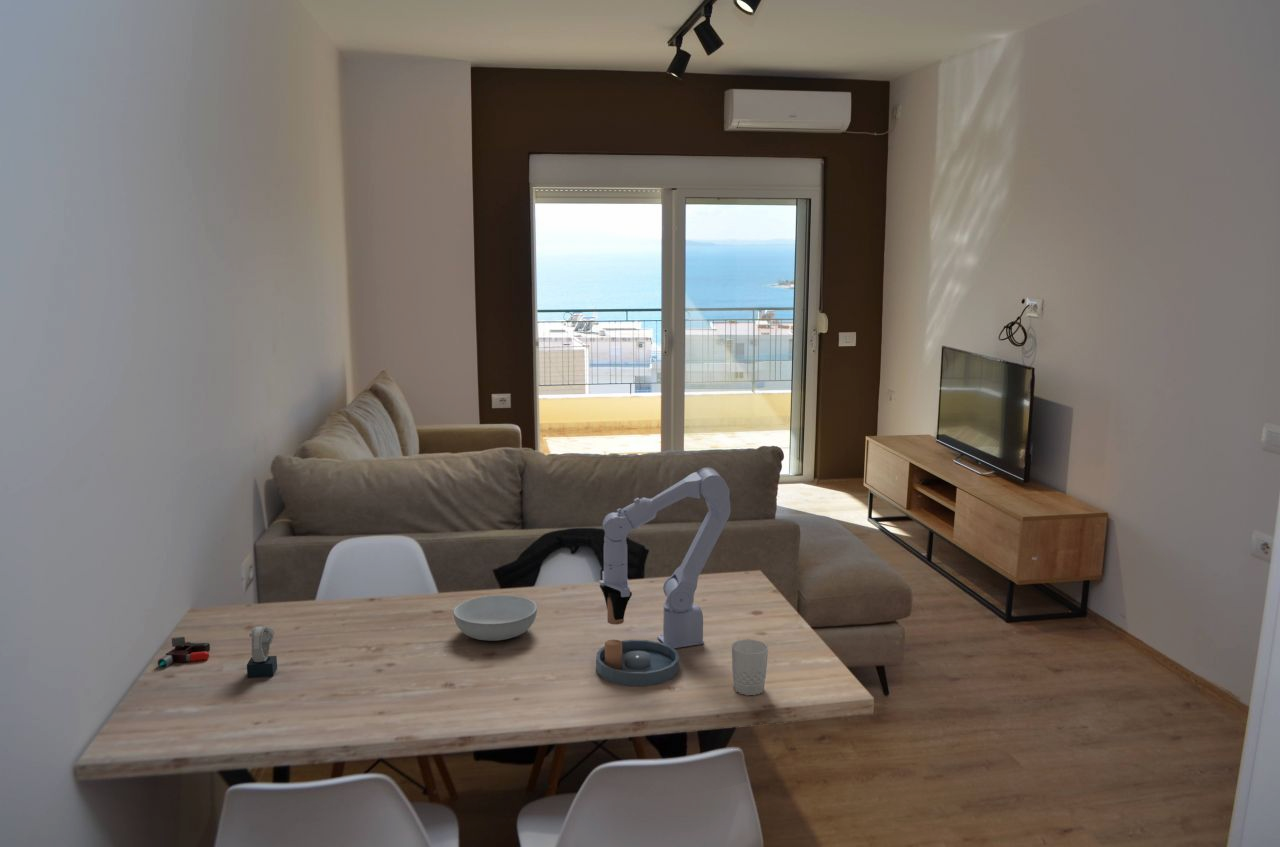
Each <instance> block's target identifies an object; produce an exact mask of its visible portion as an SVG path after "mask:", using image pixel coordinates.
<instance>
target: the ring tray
mask: <svg viewBox="0 0 1280 847" xmlns="http://www.w3.org/2000/svg"><path fill="white" fill-rule="evenodd" d="M620 641H621V642H622V669H621V670H617V669H614V668H611V667H609V666H607V665H605V645H604V646H603V647H601V648H600V649H599V650H598V651H597V652H596V656H595V657H596V658H595V671H596V672H597V674H598V675H599V676H600V678H601V679H603V680H605V679H606V681H608V682H609V683H612V684H617V685H621V686H626V687H627V686H628V687H648V686H655V685H659V684H660V683H661V684H663V683H666V682H667V681H671V680H673V679H674V678H675V677H676V676H677V674H679V673H680V671H679V670H680V656H679V655H680V654H679V653H680V652H678V651H677V650H676V648H673V647H671V646H668V645H666V644H664V643H663V642H661V641H654V640H648V639H625V640H620ZM674 676H675V677H674ZM654 684H655V685H654Z"/></svg>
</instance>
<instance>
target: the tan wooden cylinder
mask: <svg viewBox="0 0 1280 847" xmlns="http://www.w3.org/2000/svg"><path fill="white" fill-rule="evenodd" d="M621 641H622V640H619V639H608V640H605V642H604V646H605V665H607V666H609V667H611V668H614V669H617V670H621V669H622V642H621Z"/></svg>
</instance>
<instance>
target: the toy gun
mask: <svg viewBox="0 0 1280 847" xmlns="http://www.w3.org/2000/svg"><path fill="white" fill-rule="evenodd" d="M210 645H211V644H210V642H188V641H186V638H185V636H177V637H171V647H172V648H173V649H172V650H170V651H168V652H167V653H165V655H164V656H163V657H161V658H159V659H158V660H157V666H158V667H159V668H162V667H164V666H165V667H164V668H165V669H166V668H168V667H169V666H171V665H172V664H173V663H175V664H187V663H188V662H189V661H190V662H191V663H193V662H202V661H207V660H209V658H210V653H209V651H211V650H210V649H211V646H210Z"/></svg>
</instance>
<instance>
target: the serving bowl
mask: <svg viewBox="0 0 1280 847" xmlns="http://www.w3.org/2000/svg"><path fill="white" fill-rule="evenodd" d="M537 612H538V605H537V604H536V602H534V601H533V600H531V599H529V598H528V597H527V598H526V597H524V596H518V595H511V594H495V595H484V596H479V597H474V598H470V599H468V600H464V601H463V602H461V603H459V604H458V605H456V606H455V608H454V609H453V614H452V615H453V617H454V622H455V624H456V626H457V628H458V629H459V630H460V631H461V633H463V634H464V635H466V636H467V637H470V638H471V639H474V640H475V639H476V640H480V641H489V642H492V641H496V642H497V641H504V640H509V639H512V638H515V637H518V636H520V635H523V634H524V633H525V632H527V631H528V630H530V628H531V627H532V625H533V624H534V622H535V620H536V618H537Z"/></svg>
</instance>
